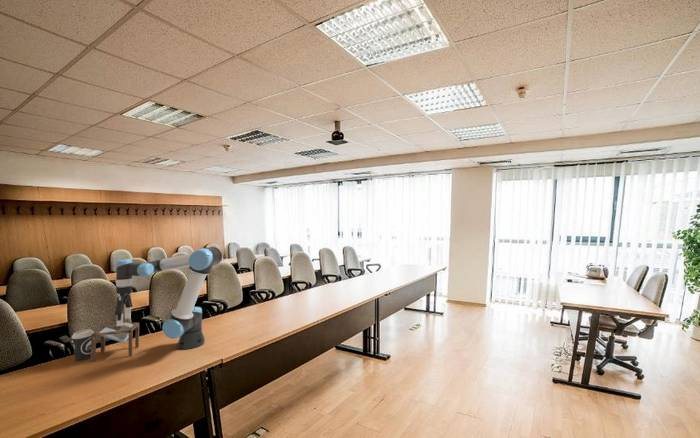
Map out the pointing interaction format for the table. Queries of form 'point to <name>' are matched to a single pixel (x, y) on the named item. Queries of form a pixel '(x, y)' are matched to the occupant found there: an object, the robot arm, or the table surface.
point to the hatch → (113, 335)
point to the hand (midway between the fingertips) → (123, 322)
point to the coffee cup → (82, 344)
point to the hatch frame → (96, 333)
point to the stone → (125, 327)
